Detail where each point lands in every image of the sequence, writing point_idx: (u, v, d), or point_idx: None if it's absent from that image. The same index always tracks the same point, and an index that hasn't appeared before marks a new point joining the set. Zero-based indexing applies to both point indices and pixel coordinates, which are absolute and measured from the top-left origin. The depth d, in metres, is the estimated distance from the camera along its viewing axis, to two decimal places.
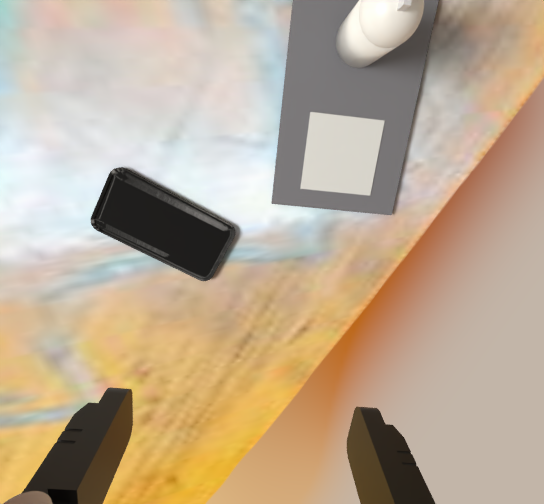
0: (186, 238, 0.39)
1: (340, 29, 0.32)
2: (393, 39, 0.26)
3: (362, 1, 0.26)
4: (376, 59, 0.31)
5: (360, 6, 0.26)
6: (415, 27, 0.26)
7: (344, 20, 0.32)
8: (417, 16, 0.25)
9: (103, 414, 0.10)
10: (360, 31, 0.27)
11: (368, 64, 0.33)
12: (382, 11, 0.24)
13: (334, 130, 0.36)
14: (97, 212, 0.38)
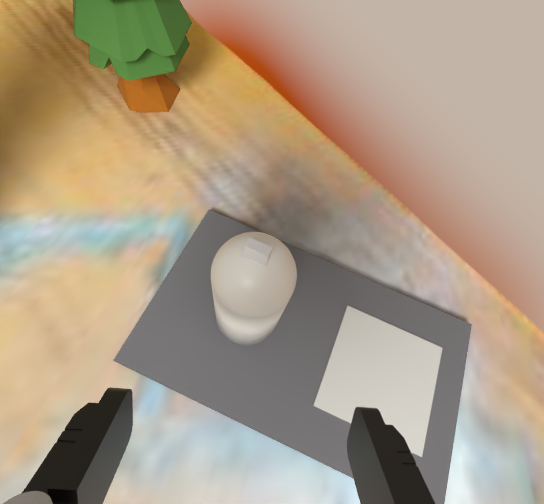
0: None
1: (229, 335, 0.24)
2: (293, 277, 0.18)
3: (229, 307, 0.18)
4: None
5: (233, 310, 0.18)
6: (286, 247, 0.19)
7: (222, 328, 0.24)
8: (277, 242, 0.18)
9: (103, 414, 0.10)
10: (261, 317, 0.18)
11: None
12: (258, 285, 0.17)
13: (346, 376, 0.25)
14: None
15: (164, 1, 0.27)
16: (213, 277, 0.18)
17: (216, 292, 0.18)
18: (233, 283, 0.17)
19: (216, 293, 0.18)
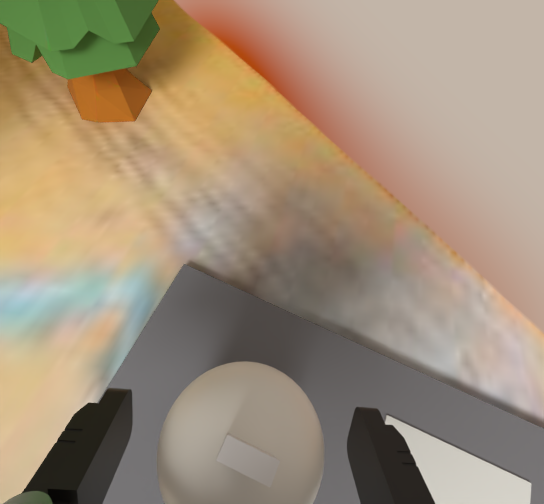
0: None
1: None
2: (318, 473, 0.09)
3: None
4: None
5: None
6: (305, 400, 0.10)
7: None
8: (288, 399, 0.09)
9: (103, 414, 0.10)
10: None
11: None
12: None
13: None
14: None
15: None
16: (158, 475, 0.09)
17: None
18: None
19: None
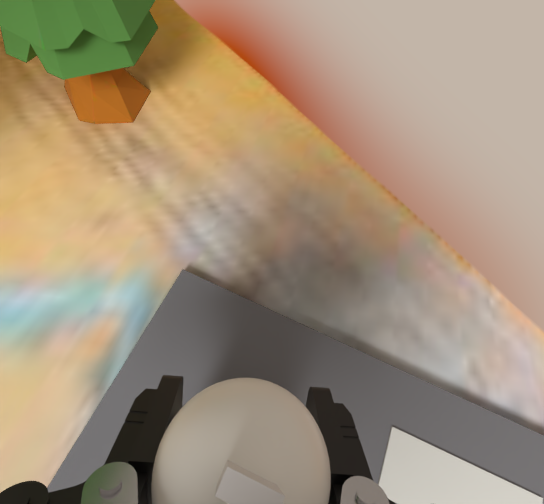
0: None
1: None
2: (325, 501, 0.08)
3: None
4: None
5: None
6: (310, 421, 0.09)
7: None
8: (292, 421, 0.09)
9: (163, 398, 0.11)
10: None
11: None
12: None
13: None
14: None
15: None
16: None
17: None
18: None
19: None
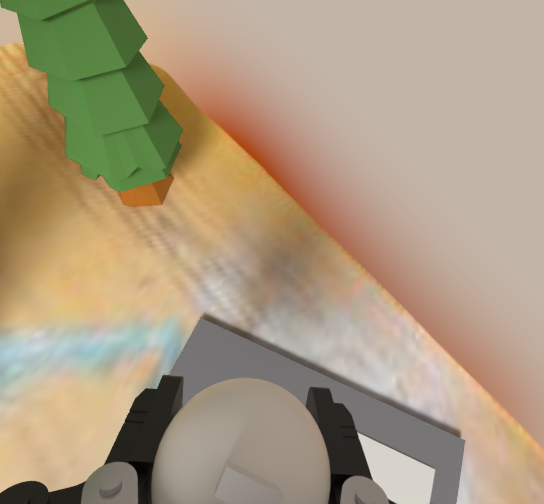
0: None
1: None
2: (325, 501, 0.08)
3: None
4: None
5: None
6: (310, 421, 0.09)
7: None
8: (291, 421, 0.09)
9: (164, 398, 0.11)
10: None
11: None
12: None
13: None
14: None
15: (154, 122, 0.27)
16: None
17: None
18: None
19: None
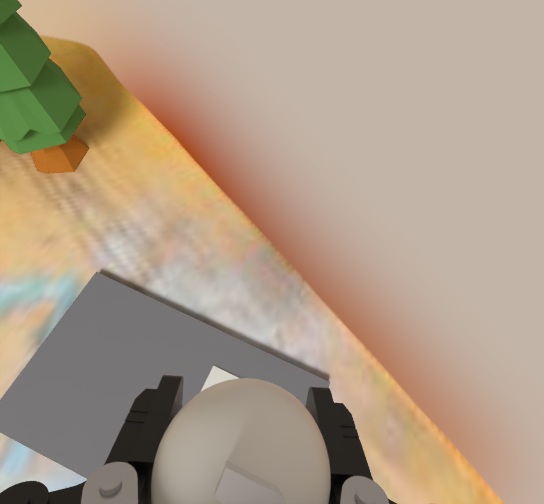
0: None
1: None
2: (325, 502, 0.08)
3: None
4: None
5: None
6: (310, 422, 0.09)
7: None
8: (291, 421, 0.09)
9: (164, 398, 0.11)
10: None
11: None
12: None
13: None
14: None
15: (43, 87, 0.29)
16: None
17: None
18: None
19: None
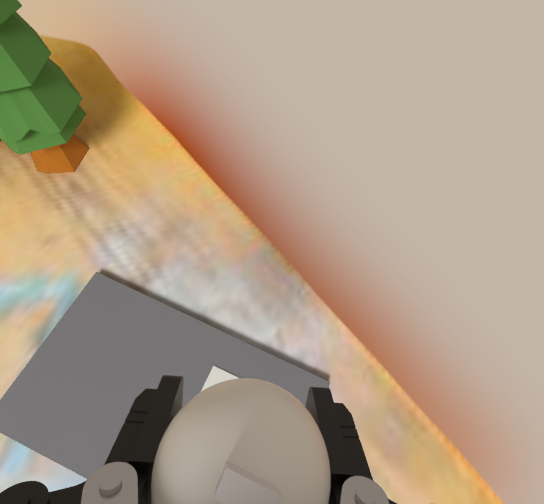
0: None
1: None
2: (325, 502, 0.08)
3: None
4: None
5: None
6: (310, 422, 0.09)
7: None
8: (292, 421, 0.09)
9: (164, 398, 0.11)
10: None
11: None
12: None
13: None
14: None
15: (43, 87, 0.29)
16: None
17: None
18: None
19: None
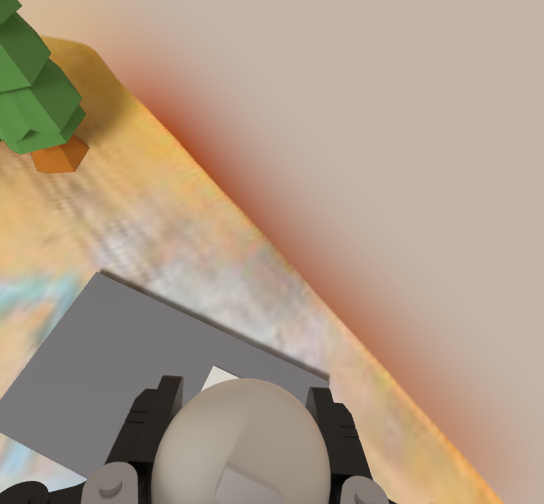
0: None
1: None
2: (325, 502, 0.08)
3: None
4: None
5: None
6: (310, 422, 0.09)
7: None
8: (292, 421, 0.09)
9: (164, 398, 0.11)
10: None
11: None
12: None
13: None
14: None
15: (43, 87, 0.29)
16: None
17: None
18: None
19: None
